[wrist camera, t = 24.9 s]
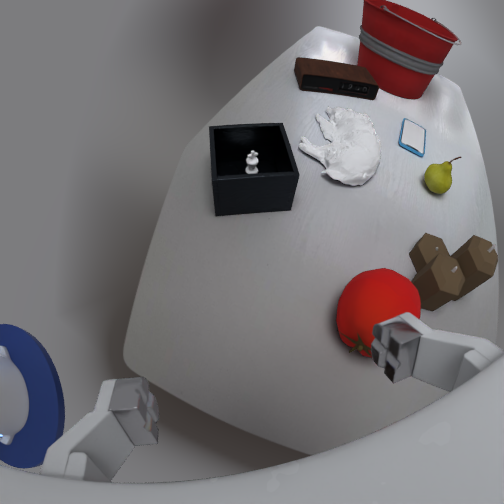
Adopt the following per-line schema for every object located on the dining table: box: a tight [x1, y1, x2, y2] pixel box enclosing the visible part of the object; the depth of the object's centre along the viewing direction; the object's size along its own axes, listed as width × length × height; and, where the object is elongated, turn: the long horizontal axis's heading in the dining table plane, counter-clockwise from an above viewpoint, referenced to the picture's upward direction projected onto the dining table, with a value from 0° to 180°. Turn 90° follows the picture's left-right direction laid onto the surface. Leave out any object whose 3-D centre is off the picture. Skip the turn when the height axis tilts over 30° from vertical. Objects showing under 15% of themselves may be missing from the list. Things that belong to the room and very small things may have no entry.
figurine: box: [299, 107, 381, 186], centre depth 60 cm, size 22×25×6 cm
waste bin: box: [209, 123, 299, 216], centre depth 52 cm, size 14×14×10 cm
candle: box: [409, 233, 498, 311], centre depth 42 cm, size 14×14×15 cm
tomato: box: [336, 268, 421, 358], centre depth 39 cm, size 13×13×13 cm
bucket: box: [357, 0, 461, 99], centre depth 71 cm, size 35×35×30 cm
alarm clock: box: [294, 57, 379, 100], centre depth 75 cm, size 24×12×6 cm, turn 92°
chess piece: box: [245, 150, 258, 174], centre depth 50 cm, size 5×5×10 cm
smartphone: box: [399, 118, 426, 157], centre depth 68 cm, size 8×1×15 cm
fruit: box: [424, 157, 461, 194], centre depth 54 cm, size 7×7×12 cm
